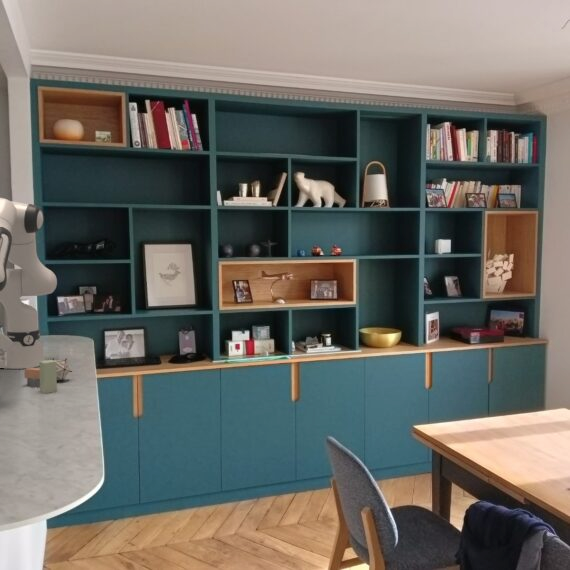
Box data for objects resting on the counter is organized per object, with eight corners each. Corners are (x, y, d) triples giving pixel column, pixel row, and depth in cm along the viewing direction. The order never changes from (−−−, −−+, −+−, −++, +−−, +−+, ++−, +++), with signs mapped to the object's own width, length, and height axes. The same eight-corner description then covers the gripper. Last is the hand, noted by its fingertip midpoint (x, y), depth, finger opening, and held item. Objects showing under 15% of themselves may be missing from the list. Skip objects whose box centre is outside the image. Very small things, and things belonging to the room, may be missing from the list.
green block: (40, 391, 191) (39, 361, 190) (52, 389, 193) (51, 359, 193) (44, 393, 188) (43, 363, 187) (56, 391, 190) (56, 361, 190)
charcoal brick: (27, 385, 199) (27, 376, 199) (36, 383, 202) (35, 375, 201) (33, 388, 195) (33, 379, 195) (42, 386, 197) (42, 378, 197)
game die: (63, 390, 207) (81, 367, 209) (52, 387, 199) (70, 363, 201) (45, 376, 209) (63, 353, 211) (33, 373, 201) (52, 349, 203)
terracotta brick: (24, 377, 197) (24, 369, 197) (30, 376, 200) (30, 367, 200) (40, 378, 196) (39, 370, 196) (45, 377, 199) (45, 368, 199)
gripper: (-6, 319, 169) (29, 349, 176) (-25, 313, 184) (8, 340, 191) (-22, 336, 166) (14, 365, 173) (-40, 328, 181) (-6, 355, 188)
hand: (11, 352), depth 182 cm, fingers open, 8 cm apart
